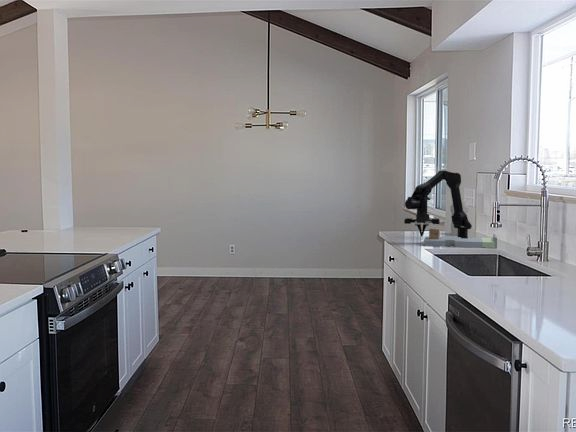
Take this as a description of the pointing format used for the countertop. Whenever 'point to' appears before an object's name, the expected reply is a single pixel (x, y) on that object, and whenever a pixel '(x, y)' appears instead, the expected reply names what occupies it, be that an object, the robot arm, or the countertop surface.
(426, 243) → the deck
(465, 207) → the tall pale column
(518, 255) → the countertop surface
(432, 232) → the block
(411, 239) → the countertop surface
